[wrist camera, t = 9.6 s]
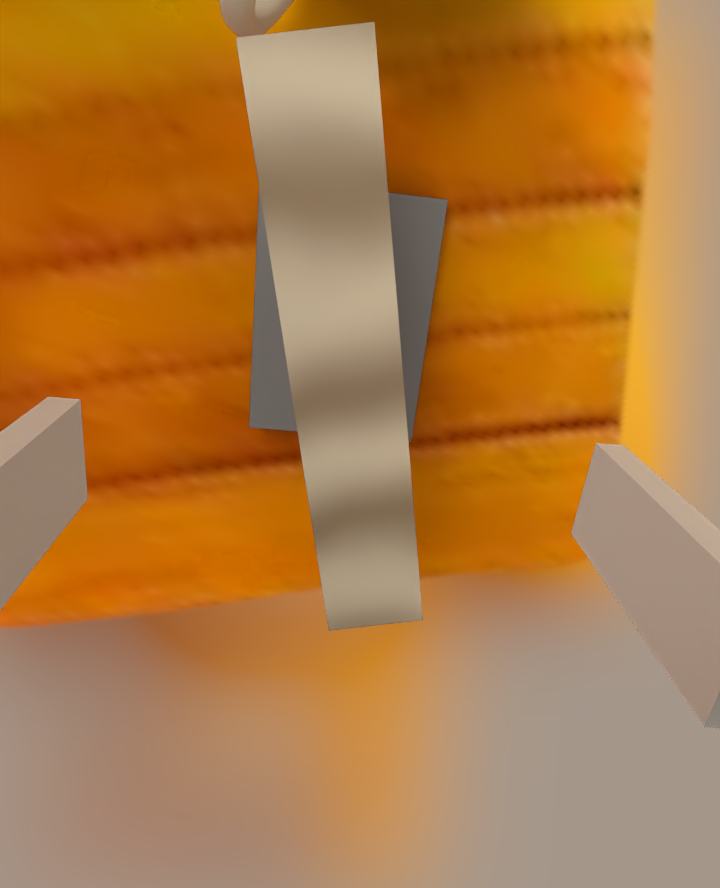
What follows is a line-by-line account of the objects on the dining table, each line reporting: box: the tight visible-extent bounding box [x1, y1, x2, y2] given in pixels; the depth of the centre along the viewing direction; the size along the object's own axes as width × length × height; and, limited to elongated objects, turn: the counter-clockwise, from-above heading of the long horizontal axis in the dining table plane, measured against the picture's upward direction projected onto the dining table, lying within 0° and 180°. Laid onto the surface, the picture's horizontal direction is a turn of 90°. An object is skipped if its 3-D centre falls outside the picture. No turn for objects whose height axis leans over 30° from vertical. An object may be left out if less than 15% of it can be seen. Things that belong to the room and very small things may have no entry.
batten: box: [236, 22, 423, 631], centre depth 27 cm, size 24×4×5 cm, turn 6°
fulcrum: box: [249, 189, 448, 441], centre depth 33 cm, size 14×10×8 cm
